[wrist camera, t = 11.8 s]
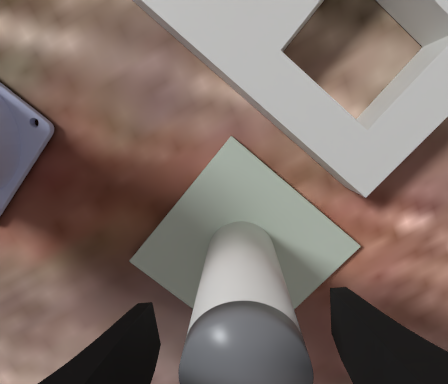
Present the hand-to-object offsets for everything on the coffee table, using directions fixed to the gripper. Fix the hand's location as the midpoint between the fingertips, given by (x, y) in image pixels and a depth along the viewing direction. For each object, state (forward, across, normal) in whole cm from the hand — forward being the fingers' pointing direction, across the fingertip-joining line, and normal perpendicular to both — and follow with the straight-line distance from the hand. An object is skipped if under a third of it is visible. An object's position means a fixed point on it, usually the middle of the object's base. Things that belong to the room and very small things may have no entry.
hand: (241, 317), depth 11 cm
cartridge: (+6, 0, 0) cm, 6 cm away
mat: (+6, 0, 0) cm, 6 cm away
